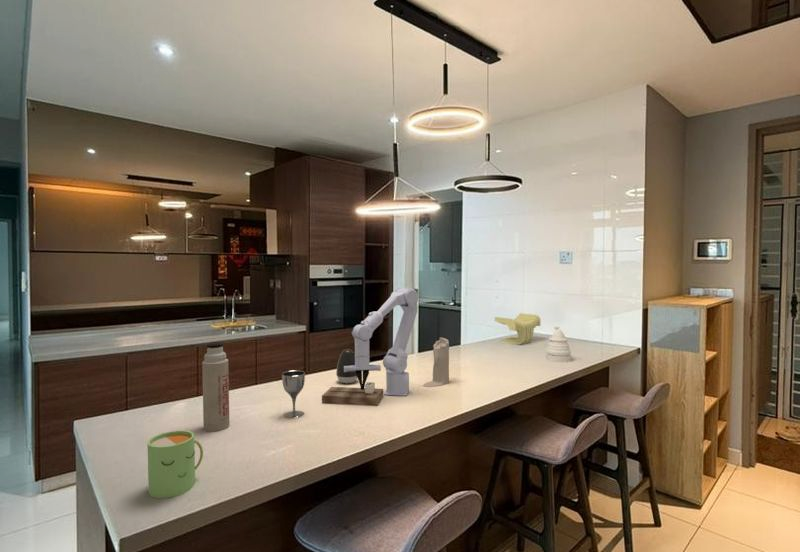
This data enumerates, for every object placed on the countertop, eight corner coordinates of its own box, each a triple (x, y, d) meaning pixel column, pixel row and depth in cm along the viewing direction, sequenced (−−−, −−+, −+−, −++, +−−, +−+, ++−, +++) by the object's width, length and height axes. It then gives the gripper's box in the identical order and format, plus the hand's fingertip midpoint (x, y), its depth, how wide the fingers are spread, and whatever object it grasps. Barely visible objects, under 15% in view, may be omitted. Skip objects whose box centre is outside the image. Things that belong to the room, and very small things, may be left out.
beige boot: (419, 384, 192) (419, 340, 191) (440, 379, 201) (440, 336, 200) (430, 388, 186) (430, 342, 186) (452, 382, 196) (452, 338, 195)
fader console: (383, 396, 176) (383, 388, 176) (377, 405, 164) (377, 397, 164) (331, 393, 179) (331, 386, 179) (322, 403, 168) (321, 395, 167)
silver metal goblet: (285, 419, 150) (284, 377, 150) (280, 412, 157) (279, 372, 157) (307, 415, 154) (307, 374, 153) (302, 409, 161) (301, 369, 161)
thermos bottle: (234, 425, 145) (233, 343, 144) (213, 433, 139) (211, 347, 138) (219, 420, 150) (218, 340, 149) (198, 428, 143) (196, 344, 142)
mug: (158, 503, 98) (157, 451, 98) (142, 487, 105) (141, 439, 105) (212, 482, 108) (211, 434, 107) (195, 469, 115) (194, 424, 114)
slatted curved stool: (515, 347, 275) (515, 319, 274) (494, 343, 287) (494, 316, 286) (540, 341, 295) (540, 315, 294) (520, 338, 307) (520, 313, 306)
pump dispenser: (355, 385, 191) (355, 351, 190) (333, 384, 193) (332, 351, 192) (362, 379, 201) (361, 347, 200) (340, 378, 203) (340, 346, 202)
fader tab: (374, 390, 172) (374, 382, 172) (372, 393, 168) (372, 385, 168) (367, 390, 173) (367, 382, 173) (365, 393, 169) (365, 384, 169)
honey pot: (542, 357, 245) (542, 326, 244) (563, 356, 246) (563, 325, 246) (552, 362, 232) (552, 329, 232) (575, 362, 234) (575, 329, 233)
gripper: (379, 352, 175) (380, 385, 176) (344, 353, 174) (344, 386, 174) (380, 356, 168) (381, 390, 169) (343, 357, 167) (343, 392, 167)
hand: (362, 389), depth 171 cm, fingers closed
